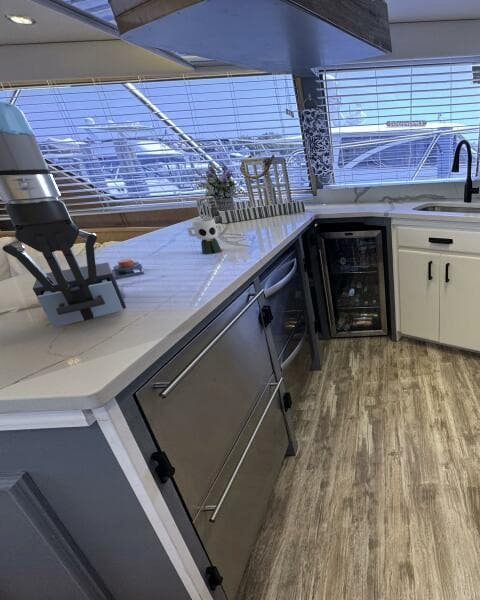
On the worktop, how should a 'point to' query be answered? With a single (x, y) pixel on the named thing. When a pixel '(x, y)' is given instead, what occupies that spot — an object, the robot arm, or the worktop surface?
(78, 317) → the drawer
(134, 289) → the worktop surface
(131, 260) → the button
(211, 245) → the character mug
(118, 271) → the panel
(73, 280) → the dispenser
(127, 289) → the worktop surface
